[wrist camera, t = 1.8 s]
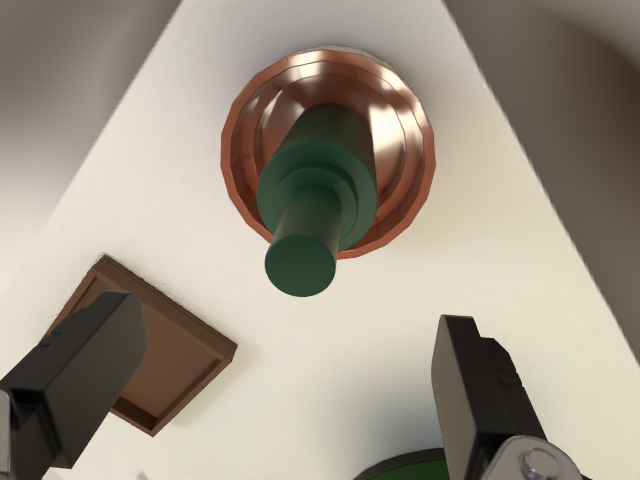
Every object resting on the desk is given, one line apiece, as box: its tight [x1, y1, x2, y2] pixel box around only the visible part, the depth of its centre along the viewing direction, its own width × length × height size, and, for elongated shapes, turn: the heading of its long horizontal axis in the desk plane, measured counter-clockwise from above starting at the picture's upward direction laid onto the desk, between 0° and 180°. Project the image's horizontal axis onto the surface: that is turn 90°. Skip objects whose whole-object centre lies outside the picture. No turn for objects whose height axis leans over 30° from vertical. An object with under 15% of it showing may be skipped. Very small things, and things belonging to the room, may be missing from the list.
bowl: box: [220, 45, 436, 260], centre depth 27 cm, size 12×12×5 cm
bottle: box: [257, 103, 378, 297], centre depth 22 cm, size 6×6×16 cm
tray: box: [37, 255, 237, 437], centre depth 38 cm, size 13×13×2 cm
